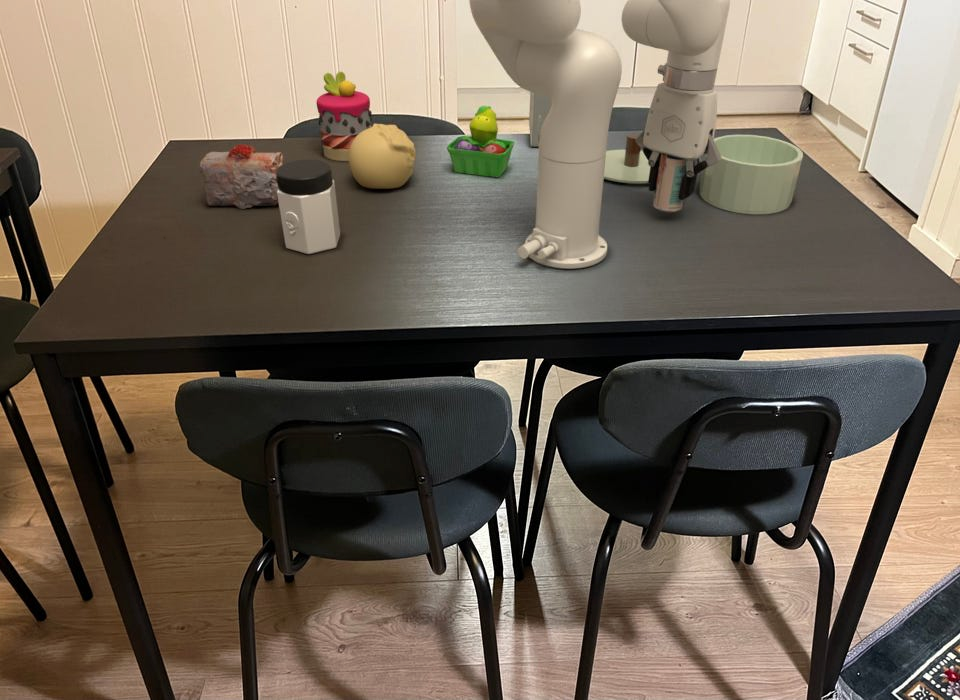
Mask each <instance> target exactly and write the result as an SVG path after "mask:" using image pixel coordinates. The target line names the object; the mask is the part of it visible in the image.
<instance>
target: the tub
mask: <svg viewBox="0 0 960 700" xmlns="http://www.w3.org/2000/svg"><path fill="white" fill-rule="evenodd" d="M714 142H715V144H716V146H717V149H718V151H719V153H720V155H721V158H722V159H721V161H720V162H718V163H716V164H714V165H712V166H710V167H707V168H706V169H704V170H703V171H701V178H700V183H699V189H698V190H699V191H698V192H699V196H700V198H701V199H702V200H703V201H705V203H708V204H709V205H711V206H712V207H713V206H714V207H715V208H718V209H721V210H724V211H728V212H732V213H736V214H737V213H738V214H745V215H770V214H777V213H780V212H783V211H785V210H787V209H788V208H789V207H790V206H791V204H792V201H793V198H794V193H795V190H796V186H797V181H798V177H799V174H800V169H801V165H802V161H803V157H804V153H803V151H802V150H801V149H800V148H799V147H798V146H796V145H794V144H793V143H790V142H787V141H785V140H781V139H778V138H774V137H770V136H764V135H757V134H756V135H755V134H728V135H722V136H718V137H714ZM706 159H708V154H704V159H703V161H704V160H706Z"/></svg>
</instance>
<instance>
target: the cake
mask: <svg viewBox="0 0 960 700" xmlns="http://www.w3.org/2000/svg"><path fill="white" fill-rule="evenodd" d="M323 81H324V83H325V84H324V85H323V89H324V90H325V93H323V94H321V95H319V96H318V97H317V99H316V109H317V112H318V118H319V119H318V126H320V130H319V132H318V133H319V135H321V136H322V138H321V144H322V148H323V155H324V157H325V158H327V159H330V160H333V161H338V162H349V151H350V147H351V144H352V142H353V140H354V139H355V137H356V136H357V135H358V134H359V133H361V132H362V131H364V130H366V129H368V128H371V127H372V125H371V124H372V123H371V122H372V121H373V116H372V110H370V108H371V99H370V97H369V95H368V94H366V93H364V92H362V91H358V90H356V87H357V85H356V84H355V83H353V82H352V81H350V80H346V75H345V73H344V72H343V71H338V72H337V73H336V74H335V77H334V75H333V74H332V73H330V72H326V73H325V74H323Z"/></svg>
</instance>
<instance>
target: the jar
mask: <svg viewBox="0 0 960 700" xmlns="http://www.w3.org/2000/svg"><path fill="white" fill-rule="evenodd" d="M276 180H277V184H278V188H279V189H278V191H277V196H278V202H279V203H278V202H277V203H278V209H279V214H280V220H281V226H282V227H281V228H282V233H283V238H284V244H285V248H286V249H287V250H292V251H295V252H299V253H302V254H305V255H312V254H316V253H321V252H326V251H329V250H333V249H337V246H338V244H339V241H340V237H341V228H340V227H341V226H340V219H339V211H338V202H337V193H336V184H335V180H334V179H333V171H332V167H331V164H329V163H328V162H326V161H323V160H319V159H310V158H309V159H297V160H292V161H288V162H284V163H282V165H281V166H279V167H278V168H277V170H276Z"/></svg>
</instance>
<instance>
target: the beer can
mask: <svg viewBox="0 0 960 700" xmlns="http://www.w3.org/2000/svg"><path fill="white" fill-rule="evenodd" d="M684 175H686V160H685V159H683V158H679V157H675V156H671V155H667V154H664V153H661V157H660V163H659V170H658V176H657V182H656V188H655V190H654V194H653V202H652V206H653V207H654V209H656V210H657V211H660V212H662V213H677V212H678V211H680V210H682V209H683V206H684V205H683V204H684V200H680V199H679V193H680V187H681V182H682V177H683V176H684Z"/></svg>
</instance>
